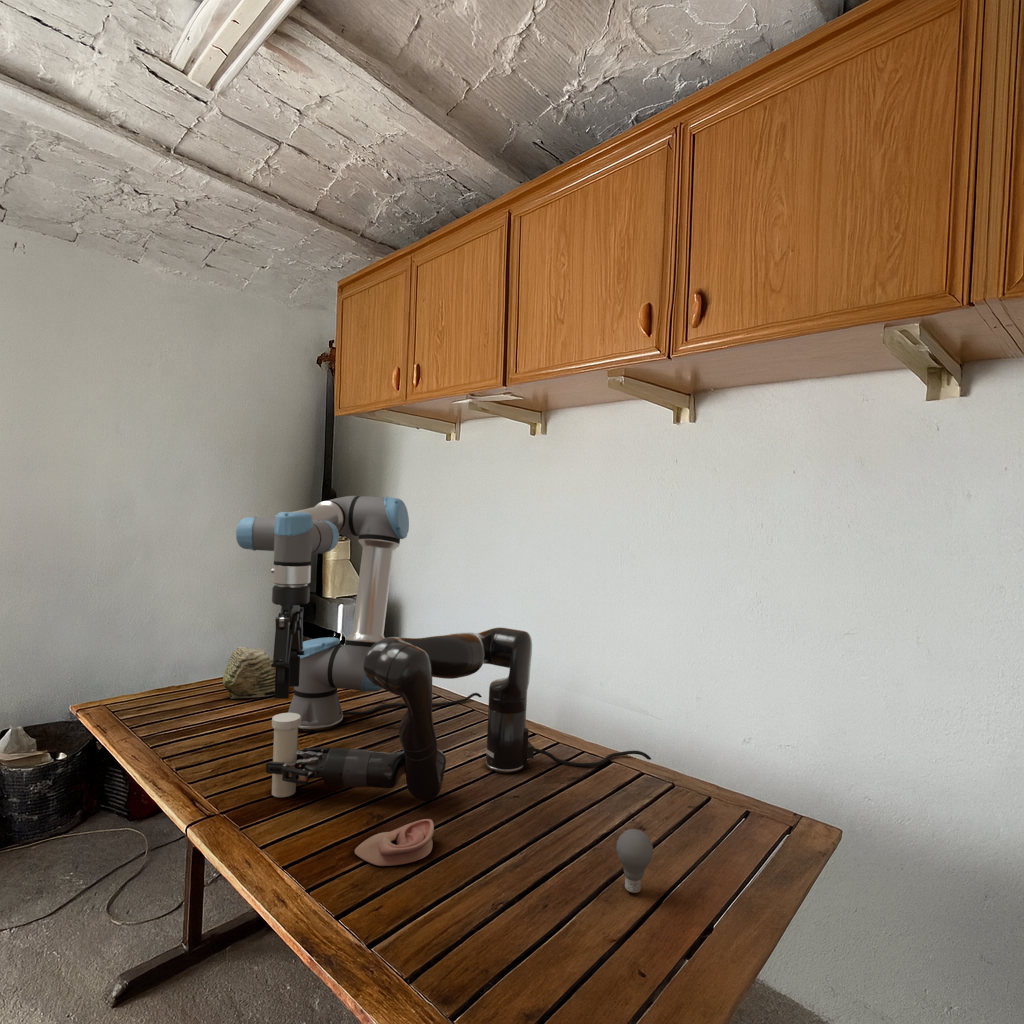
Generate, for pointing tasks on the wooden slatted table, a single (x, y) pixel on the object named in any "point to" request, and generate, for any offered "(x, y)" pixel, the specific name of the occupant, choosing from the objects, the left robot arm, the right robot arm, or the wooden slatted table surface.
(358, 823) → the wooden slatted table surface
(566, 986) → the wooden slatted table surface
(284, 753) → the jar
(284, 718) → the lid
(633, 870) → the light bulb
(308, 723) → the left robot arm
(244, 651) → the fossil
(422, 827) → the anatomical model
